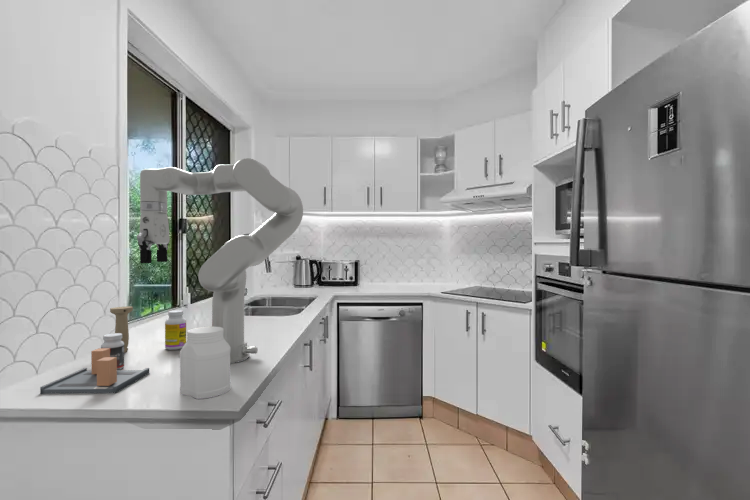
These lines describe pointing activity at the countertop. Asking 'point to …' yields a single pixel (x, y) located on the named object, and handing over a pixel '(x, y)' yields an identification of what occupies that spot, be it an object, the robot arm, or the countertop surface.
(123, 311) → the handle
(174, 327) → the supplement bottle
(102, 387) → the grey tray
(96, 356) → the orange rectangular block
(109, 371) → the tab
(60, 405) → the countertop surface
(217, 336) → the jar
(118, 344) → the pill bottle
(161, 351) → the countertop surface
